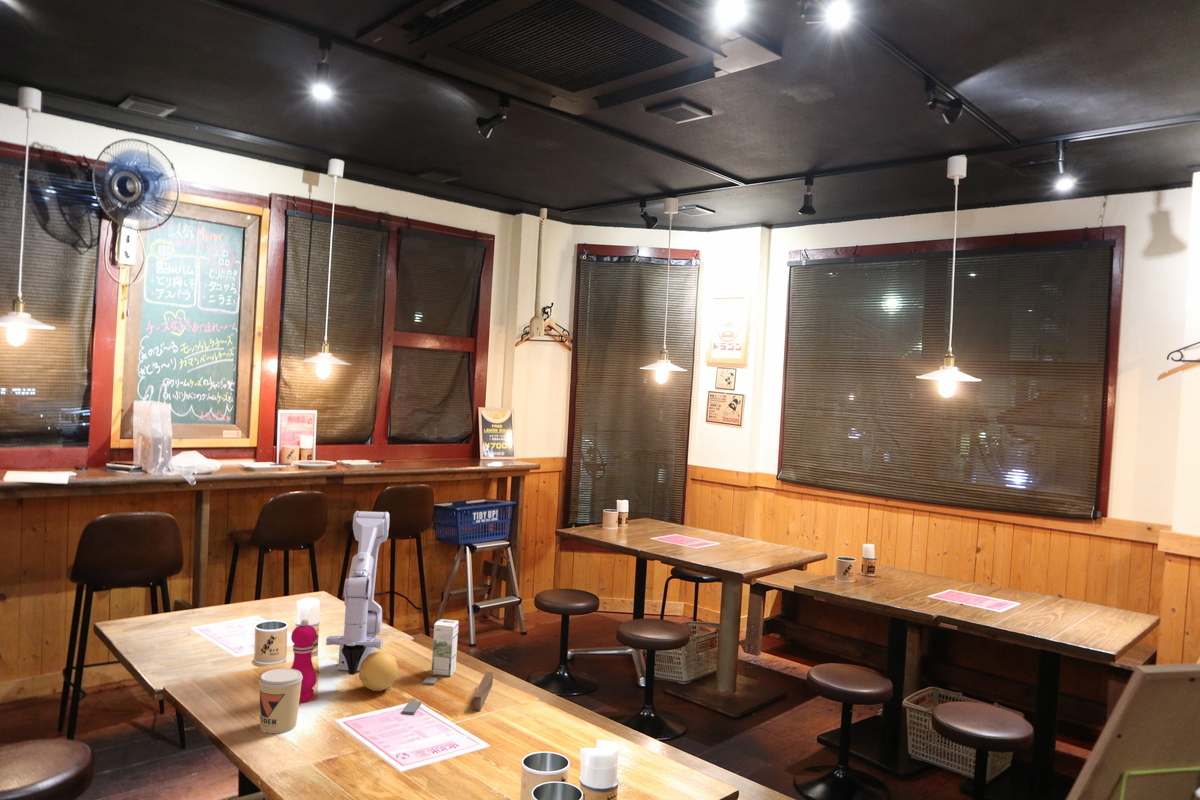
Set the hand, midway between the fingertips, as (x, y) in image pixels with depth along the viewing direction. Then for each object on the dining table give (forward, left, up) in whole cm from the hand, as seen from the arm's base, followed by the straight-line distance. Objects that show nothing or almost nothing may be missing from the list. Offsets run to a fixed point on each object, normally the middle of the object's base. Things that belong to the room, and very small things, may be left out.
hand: (352, 673), depth 206 cm
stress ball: (+7, 0, -4) cm, 8 cm away
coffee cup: (-8, -26, -4) cm, 28 cm away
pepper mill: (-10, -9, -4) cm, 14 cm away
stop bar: (+35, 0, -4) cm, 35 cm away
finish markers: (+19, -2, -4) cm, 19 cm away
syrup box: (+21, +16, -4) cm, 27 cm away
